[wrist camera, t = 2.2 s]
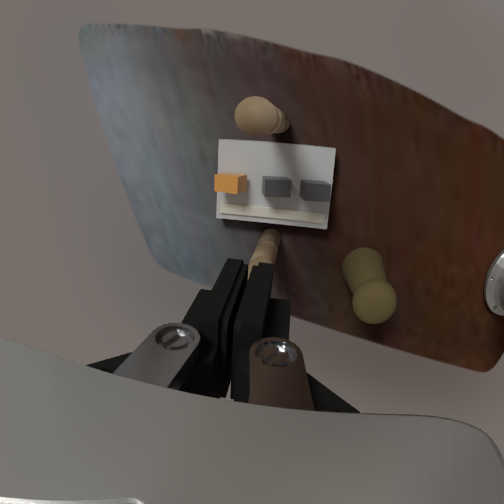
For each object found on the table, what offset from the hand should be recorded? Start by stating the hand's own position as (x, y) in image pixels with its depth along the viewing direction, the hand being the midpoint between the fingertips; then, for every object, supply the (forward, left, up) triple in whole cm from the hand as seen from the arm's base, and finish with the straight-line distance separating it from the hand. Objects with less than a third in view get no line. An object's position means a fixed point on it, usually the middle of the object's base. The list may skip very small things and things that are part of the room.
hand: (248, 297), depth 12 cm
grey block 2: (-3, +1, -29) cm, 29 cm away
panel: (+2, +1, -31) cm, 31 cm away
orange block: (+6, +1, -29) cm, 29 cm away
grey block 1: (+2, +1, -29) cm, 29 cm away
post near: (+2, -7, -31) cm, 31 cm away
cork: (-11, +11, -31) cm, 35 cm away
